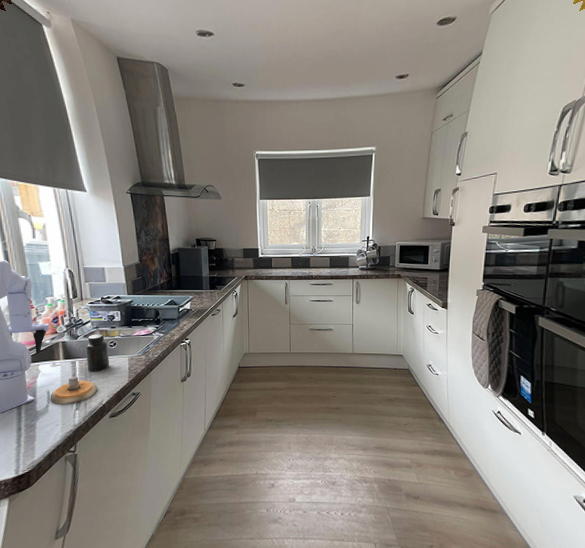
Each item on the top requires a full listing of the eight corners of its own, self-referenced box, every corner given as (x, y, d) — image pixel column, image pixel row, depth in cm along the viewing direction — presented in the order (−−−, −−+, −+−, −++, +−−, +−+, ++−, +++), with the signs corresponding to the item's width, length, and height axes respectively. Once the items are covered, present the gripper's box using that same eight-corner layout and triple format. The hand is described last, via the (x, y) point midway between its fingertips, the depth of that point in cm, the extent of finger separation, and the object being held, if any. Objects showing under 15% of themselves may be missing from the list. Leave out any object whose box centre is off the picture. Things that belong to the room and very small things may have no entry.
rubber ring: (66, 401, 100) (66, 399, 99) (48, 393, 104) (48, 390, 104) (98, 388, 108) (98, 385, 108) (81, 380, 112) (80, 378, 112)
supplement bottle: (104, 362, 130) (102, 331, 128) (112, 367, 125) (110, 335, 124) (84, 368, 124) (81, 336, 123) (92, 373, 120) (89, 340, 118)
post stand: (64, 408, 98) (63, 391, 97) (42, 397, 104) (41, 381, 103) (105, 390, 108) (104, 375, 108) (82, 381, 114) (81, 367, 113)
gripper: (50, 308, 117) (54, 346, 119) (-3, 311, 112) (2, 351, 114) (44, 313, 110) (48, 354, 112) (-13, 317, 105) (-8, 359, 107)
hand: (24, 353), depth 113 cm, fingers open, 7 cm apart
